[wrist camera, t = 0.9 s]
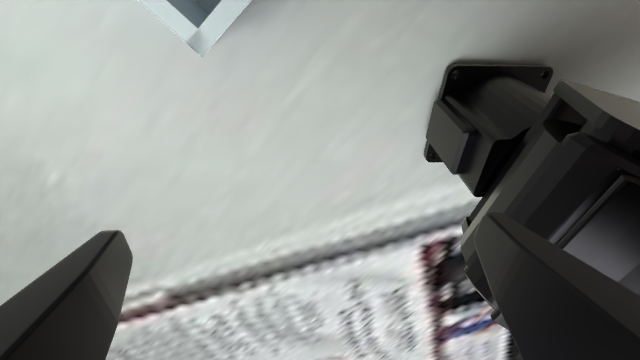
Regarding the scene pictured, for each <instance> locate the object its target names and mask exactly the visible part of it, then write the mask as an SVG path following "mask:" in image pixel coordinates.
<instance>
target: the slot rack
mask: <svg viewBox="0 0 640 360" xmlns="http://www.w3.org/2000/svg"><path fill="white" fill-rule="evenodd" d="M137 1H138V2H139V3H140V4H141V5H143V6H144V7H145V8H146V9H147V10H148V11H149V12H151V13H152V14H153V15H154V16H155V17H156V18H158V19H159V20H160V21H161V22H162V23H163V24H164V25H166V26H167V27H168V28H169V29H170V30H171V31H173V32H174V33H175V34H176V35H177V36H178V37H179V38H181V39H182V40H183V41H184V42H185V43H186V44H188V45H189V46H190V47H191V48H192V49H193V50H194V51H196V52H197V53H198V54H199V55H200V56H201V57H203V56H204V55H205V54H206V53H207V51H208V50H209V49H210V48H211V47H212V46H213V45H214V43H215V42H216V41H217V40H218V39H219V38H220V36H221V35H222V34H223V33H224V32H225V31H226V30H227V28H228V27H229V26H230V25H231V24H232V23H233V22H234V20H235V19H236V18H237V17H238V16H239V15H240V13H241V12H242V11H243V10H244V9H245V8H246V7H247V5H248V4H249V3H250V2H251V1H252V0H137Z"/></svg>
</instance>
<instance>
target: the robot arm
mask: <svg viewBox="0 0 640 360" xmlns="http://www.w3.org/2000/svg"><path fill="white" fill-rule="evenodd" d="M456 70H457V74H456V75H455V76H452V73H453V72H454V71H456ZM544 71H545V72H544ZM543 72H544V74H543V75H542V76H541V77H540V75H541V74H542V73H543ZM552 74H553V69H552V68H551V67H549V66H547V65H543V64H452V65H450V66H449V67H448V68H447V69H446V71H445V74H444V78H443V82H442V85H441V89H440V93H439V97H438V99H437V100H436V101H435V102H434V106H433V110H432V114H431V118H430V122H429V126H428V129H427V133H426V139H427V143H426V147H425V151H424V157H425V159H426V160H427V161H428V162H444V164H445V165H446V166H447V168H448V169H449V171H450V172H451V173H452V174H453V175H457V174H458V175H459V176H460V178H461V179H462V180H463V182H464V183H465V184H466V186H467V187H468V189H469V190H470V191H471V193H472V194H473V195H474V196H475V197H482V199H481V200H480V202H479V203H478V205H477V206H476V208H475V209H474V210H473V212H472V213H471V215H470V216H469V217H466V219H465V220H464V221H463V223H462V230H463V236H462V242H461V250H462V253H463V256H464V259H465V262H466V264H467V266H466V267H465V268H464V272H465V274H466V276H467V278H468V279H469V281H470V282H471V284H472V285H473V286H474V288H475V289H476V290H477V291H478V293H479V294H480V295H481V296H482V297H483V298H484V300H485V301H486V302H487V303H488V304H489V305H490V306H491V307H493V308H494V309H495V310H494V312H493V313H492V314H491V318H492V319H493V320H494V321H495V322H496V323H498V324H500V325H501V326H503V327H504V328H506V329H508V330H509V331H510V333H511V335H512V337H513V339H514V341H515V343H516V345H517V348H518V350H519V352H520V354H521V356H522V358H523V360H640V102H638V101H634V100H631V99H627V98H624V97H621V96H617V95H614V94H610V93H607V92H603V91H600V90H597V89H593V88H590V87H586V86H583V85H579V84H576V83H572V82H569V81H566V80H562V79H561V80H560V82H559V83H558V84H557V86H556V87H555V89H554V90H553V91H554V92H555V93H554V95H553V96H552V98H551V97H549V96H548V95H546V94H544V93H545V90H546V88H547V86H548V84H549V81H550V79H551V77H552ZM432 153H434V155H432V156H430V154H432ZM132 260H133V257H132V252H131V250H130V248H129V245H128V243H127V241H126V239H125V236H124V234H123V233H122V232H121V231H119V230H107V231H101V232H99V233H98V234H96V235H95V236H94V237H92V238H91V239H90V240H88V241H87V242H86V243H84V244H83V245H81V246H80V247H79V248H77V249H76V250H75V251H73V252H72V253H71V254H69V255H68V256H67V257H65V258H64V259H63V260H61V261H60V262H59V263H57V264H56V265H55V266H53V267H52V268H51V269H49V270H48V271H46V272H45V273H44V274H42V275H41V276H40V277H38V278H37V279H36V280H34V281H33V282H32V283H30V284H29V285H28V286H26V287H25V288H24V289H22V290H21V291H20V292H18V293H17V294H16V295H14V296H13V297H12V298H10V299H9V300H7V301H6V302H5V303H3V304H2V305H1V306H0V360H105V359H106V356H107V354H108V351H109V348H110V345H111V342H112V339H113V337H114V334H115V331H116V328H117V325H118V321H119V318H120V314H121V309H122V305H123V301H124V297H125V292H126V288H127V284H128V279H129V275H130V271H131V266H132Z"/></svg>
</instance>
